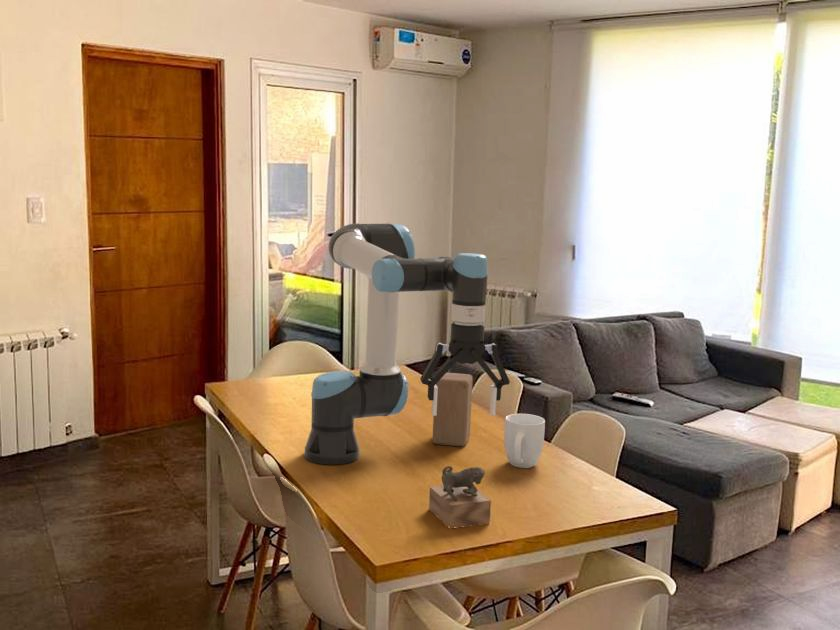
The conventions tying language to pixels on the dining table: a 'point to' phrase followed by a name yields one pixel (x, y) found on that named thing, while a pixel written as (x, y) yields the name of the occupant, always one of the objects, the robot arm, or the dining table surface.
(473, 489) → the grey animal figure
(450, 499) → the walnut block
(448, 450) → the dining table surface
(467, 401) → the wooden block
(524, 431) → the mug
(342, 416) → the robot arm
